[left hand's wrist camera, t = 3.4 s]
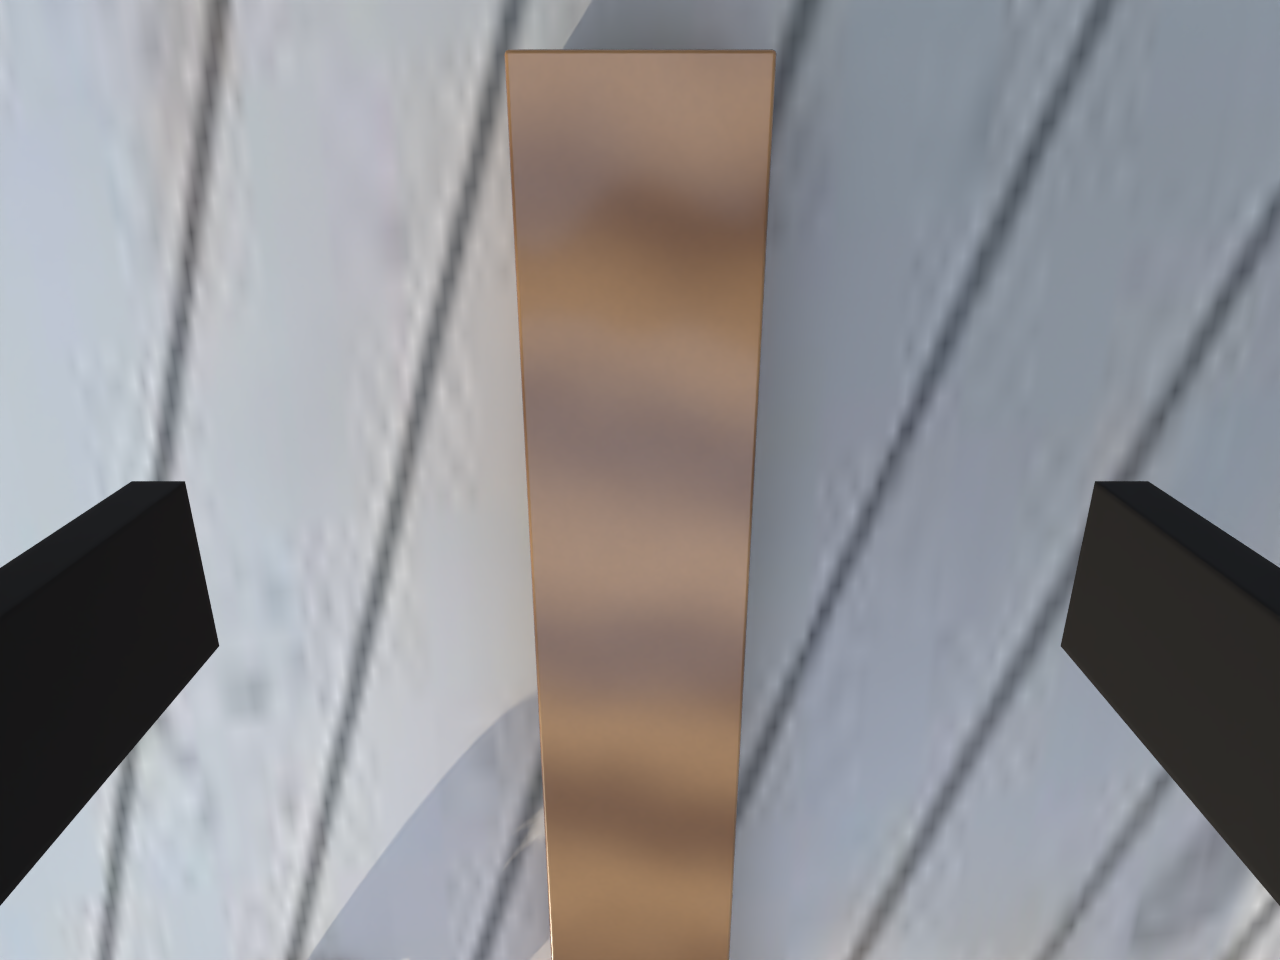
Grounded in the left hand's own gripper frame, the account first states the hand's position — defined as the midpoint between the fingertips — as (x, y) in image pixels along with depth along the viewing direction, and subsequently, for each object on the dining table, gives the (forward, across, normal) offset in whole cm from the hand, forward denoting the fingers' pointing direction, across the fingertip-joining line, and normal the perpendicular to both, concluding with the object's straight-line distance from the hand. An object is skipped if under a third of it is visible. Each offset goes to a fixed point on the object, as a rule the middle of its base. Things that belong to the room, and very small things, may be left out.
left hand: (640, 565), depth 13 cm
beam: (+16, 0, -31) cm, 35 cm away
